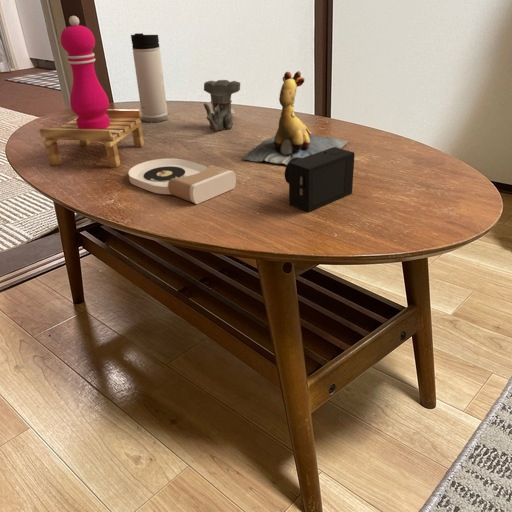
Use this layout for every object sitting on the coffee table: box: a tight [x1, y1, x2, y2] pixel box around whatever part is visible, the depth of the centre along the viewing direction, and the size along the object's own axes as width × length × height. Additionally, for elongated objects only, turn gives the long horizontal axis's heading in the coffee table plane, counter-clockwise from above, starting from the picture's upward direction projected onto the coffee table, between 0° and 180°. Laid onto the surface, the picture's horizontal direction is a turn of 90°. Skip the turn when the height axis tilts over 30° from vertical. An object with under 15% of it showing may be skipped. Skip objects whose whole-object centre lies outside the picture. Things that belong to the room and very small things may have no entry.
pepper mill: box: [60, 15, 110, 129], centre depth 97 cm, size 7×7×20 cm
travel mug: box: [130, 32, 169, 123], centre depth 123 cm, size 6×7×20 cm
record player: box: [128, 157, 237, 205], centre depth 90 cm, size 12×3×20 cm
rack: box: [39, 108, 145, 169], centre depth 103 cm, size 14×15×7 cm
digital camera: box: [284, 147, 355, 213], centre depth 81 cm, size 10×5×7 cm, turn 131°
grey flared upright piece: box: [203, 79, 241, 132], centre depth 119 cm, size 14×18×10 cm
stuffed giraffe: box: [241, 70, 350, 166], centre depth 100 cm, size 16×18×16 cm
